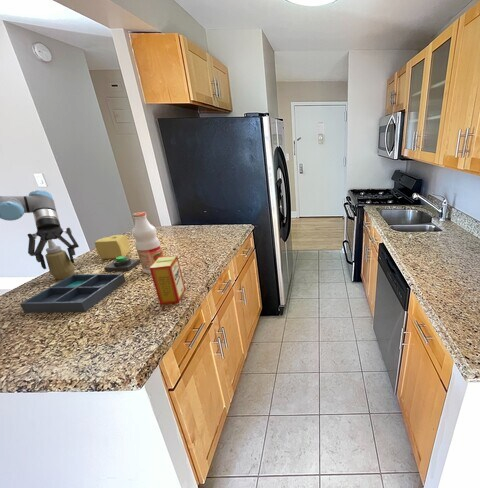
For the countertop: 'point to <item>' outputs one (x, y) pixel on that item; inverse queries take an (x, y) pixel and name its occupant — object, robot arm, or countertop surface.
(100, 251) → the cheese
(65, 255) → the squeeze bottle
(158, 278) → the baking soda box
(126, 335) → the countertop surface
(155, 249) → the fruit juice
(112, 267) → the panel
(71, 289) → the compartment tray
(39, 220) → the robot arm
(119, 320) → the countertop surface
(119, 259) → the button
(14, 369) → the countertop surface
